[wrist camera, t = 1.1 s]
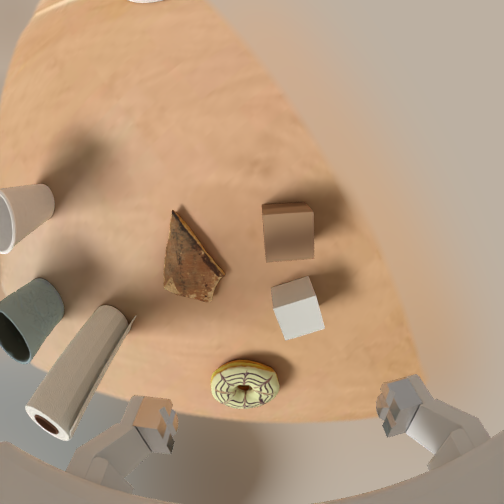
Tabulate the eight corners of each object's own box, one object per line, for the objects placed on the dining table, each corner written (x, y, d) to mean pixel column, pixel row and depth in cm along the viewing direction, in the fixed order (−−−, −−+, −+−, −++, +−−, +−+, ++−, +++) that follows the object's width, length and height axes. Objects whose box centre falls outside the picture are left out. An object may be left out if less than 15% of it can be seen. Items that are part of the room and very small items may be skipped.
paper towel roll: (96, 327, 39) (32, 425, 19) (95, 298, 36) (17, 398, 17) (135, 343, 39) (82, 453, 19) (137, 314, 37) (72, 431, 17)
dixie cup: (57, 237, 33) (14, 264, 24) (23, 219, 32) (-19, 240, 23) (65, 183, 30) (16, 200, 21) (29, 168, 29) (-18, 181, 20)
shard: (175, 207, 32) (171, 210, 30) (237, 221, 33) (236, 225, 31) (164, 284, 36) (160, 291, 34) (219, 298, 36) (217, 305, 35)
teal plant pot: (31, 311, 38) (-4, 347, 27) (25, 264, 35) (-20, 297, 24) (70, 331, 39) (37, 374, 28) (66, 283, 36) (22, 325, 25)
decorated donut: (274, 397, 44) (275, 413, 40) (213, 394, 44) (210, 410, 40) (282, 356, 40) (284, 374, 36) (211, 352, 40) (208, 370, 36)
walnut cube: (261, 204, 31) (262, 215, 27) (304, 201, 31) (313, 211, 27) (264, 245, 33) (266, 262, 29) (306, 242, 33) (314, 258, 28)
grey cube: (270, 287, 35) (273, 308, 31) (308, 275, 35) (315, 295, 30) (282, 317, 37) (285, 340, 32) (317, 306, 36) (324, 328, 32)
